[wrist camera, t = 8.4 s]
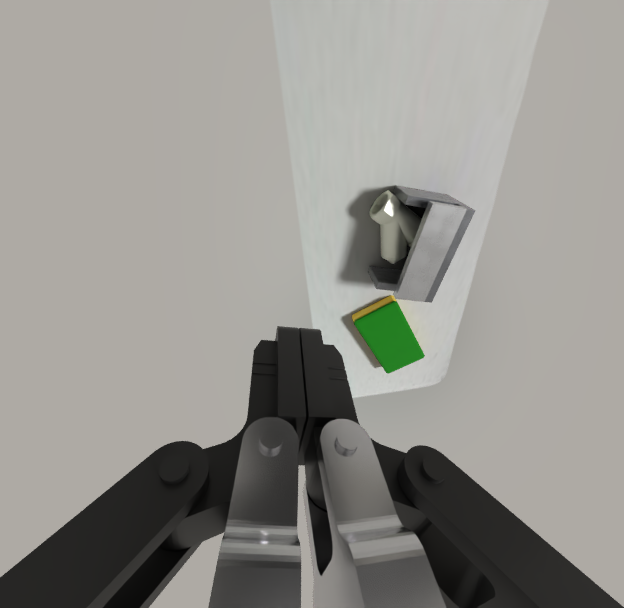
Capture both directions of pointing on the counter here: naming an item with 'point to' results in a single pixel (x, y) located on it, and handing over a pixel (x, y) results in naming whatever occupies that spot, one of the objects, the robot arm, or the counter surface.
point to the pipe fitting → (394, 226)
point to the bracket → (426, 246)
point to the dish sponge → (388, 334)
